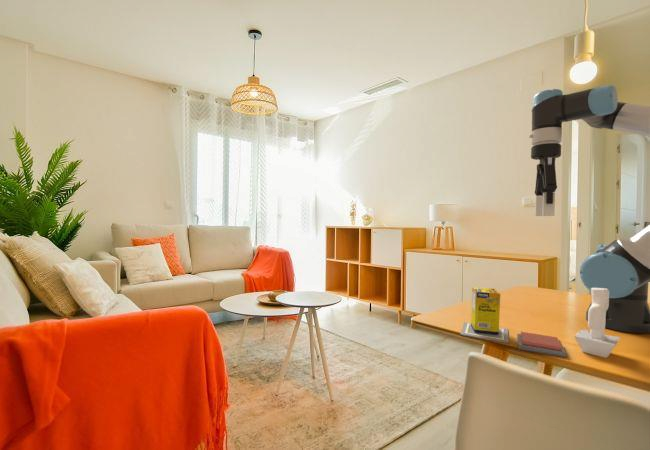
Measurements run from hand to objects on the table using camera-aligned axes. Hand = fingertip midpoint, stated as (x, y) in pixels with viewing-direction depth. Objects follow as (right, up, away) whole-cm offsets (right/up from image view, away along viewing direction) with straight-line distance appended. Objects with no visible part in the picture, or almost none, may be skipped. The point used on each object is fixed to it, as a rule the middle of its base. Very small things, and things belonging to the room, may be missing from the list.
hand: (544, 216), depth 101 cm
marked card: (-23, -31, -11) cm, 41 cm away
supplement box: (-23, -31, -11) cm, 40 cm away
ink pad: (-15, -32, -21) cm, 41 cm away
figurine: (-3, -32, -23) cm, 40 cm away
